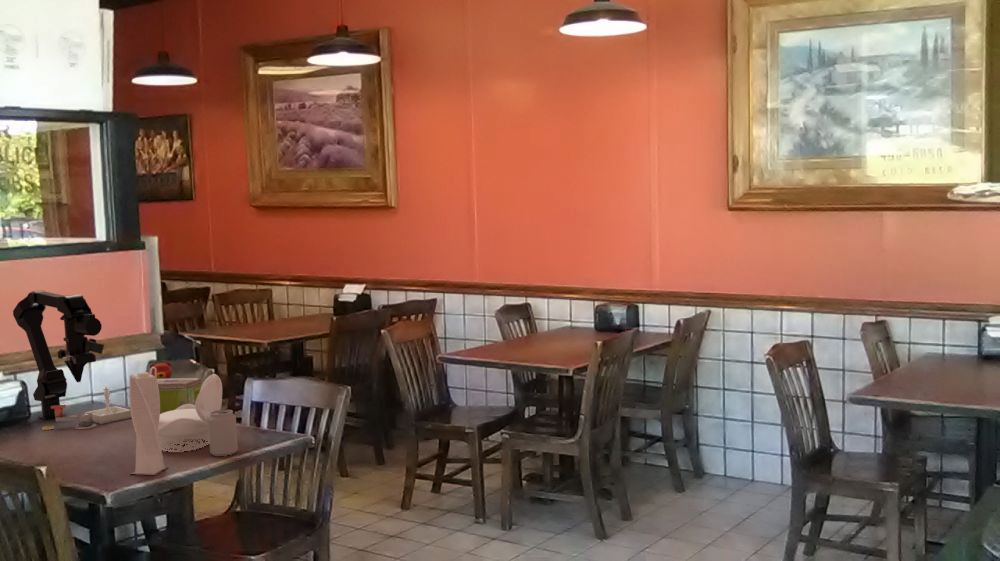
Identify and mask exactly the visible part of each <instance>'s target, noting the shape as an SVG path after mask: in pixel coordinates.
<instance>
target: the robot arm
mask: <svg viewBox="0 0 1000 561" xmlns="http://www.w3.org/2000/svg"><path fill="white" fill-rule="evenodd" d="M47 307H51V308H55V309H57V311H58V312H59V313H61V314H63V315H61V317H60V318H59V320H60V321H64V322H63V325H64V326H63V327H64V335H65V336H64V337H63V341H64V342H65V348H60V349H59V350H58V351H57V358H58V359H59V360H61V359H64V358H66V359H65V360H64V361H63V362H64V363H65V365H66V366H67V368H68V369H69V371H70V373H71V375H72V376H73V377H72V378H74V380H75V382H76V383H81V382H82V378H83V372H84V369H85V366H86V365H87V364H89V363H95V362H97V357H96V354H98V355H99V354H100V355H102V354H103V350H104V348H105V347H104V346H105V344H103V343H100V342H99V343H98V342H97V340H96V339H95V338H90V337H89V338H88V337H87V336H92V337H95V336H97V335H98V334H100V332H101V331H102V323H101V321H100V320H99V319H98V318H97V317H96V314H95V313H93V312H92V309H91V307H90V306H89V304H88V302H87V300H86V299H85V298H84V296H83V294H80V293H79V294H71V295H63V294H58V293H54V292H50V291H49V292H48V291H45V290H43V289H42V290H34V291H31V292H28V294H27V296H26V297H24V298H23V299H21V300H20V301H19V302H17V304H16V306H15V307H14V309H13V311H12V315H13V317H14V320H15V321H16V324H17V326H18V327H20V328H21V329H22V330H24V331H25V333H26V337H27V340H28V342H29V345H30V348H31V352H32V355H33V357H34V358H33V359H34V360H35V363H36V366H37V369H38V374H37V379H36V383H37V387H36V388H35V390H34V392H33V393H32V396H33V399H34V401H38V402H40V404H41V414H38V415H37V417H38V418H41V419H44V420H49V419H50V420H51V419H56V417H55V409H51V406H52V405H61V399H60V398H64V397H65V398H66V395H67V389H68V382H67V377H66V376H65V373H64V372H65V371H64V370H63V368H60V369H58V368H57V367H56V366H55V364H54V361H53V357H52V355H51V352H50V348H49V346H48V343H47V340H46V337H45V334H44V331H43V328H42V325H43V324H42V323H43V320H44V314H43V313H44V312H45V310H46V308H47ZM94 353H96V354H94ZM63 416H66V414H65V413H63Z"/></svg>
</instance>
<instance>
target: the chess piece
mask: <svg viewBox="0 0 1000 561" xmlns="http://www.w3.org/2000/svg"><path fill="white" fill-rule="evenodd" d="M103 391H105V392H103V393H102V394H103V396H104V399H103V401H104V402H105V408H106V410H105V414H103V415H107V414H112V413H111V410H110V407H111V406H110V401H111V399H110V395H111V392H109V391H110V388H108V387H107V386H105V388H104V389H103ZM101 416H102V415H101Z"/></svg>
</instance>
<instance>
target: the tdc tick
mask: <svg viewBox="0 0 1000 561" xmlns="http://www.w3.org/2000/svg"><path fill="white" fill-rule="evenodd" d="M41 429H42V431H50V430H51V429H53V430H54V425H43V426H42V428H41Z"/></svg>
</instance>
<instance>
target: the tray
mask: <svg viewBox="0 0 1000 561" xmlns="http://www.w3.org/2000/svg"><path fill="white" fill-rule="evenodd" d="M105 410H106V407H105V408H99V409H96V410H91V411H85V412H84V413H92V414H93V423H95V424H99V425H102V424H108V423H113V422H114V423H115V422H117V421H118V422H119V421H123V420H127V419H132V416H131V410H130V409H129V408H124V407H120V406H116V405H115V406H112V407H111V406H110V410H111V413H112V414H107V415H103V414H105ZM101 415H102V416H101Z"/></svg>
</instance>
